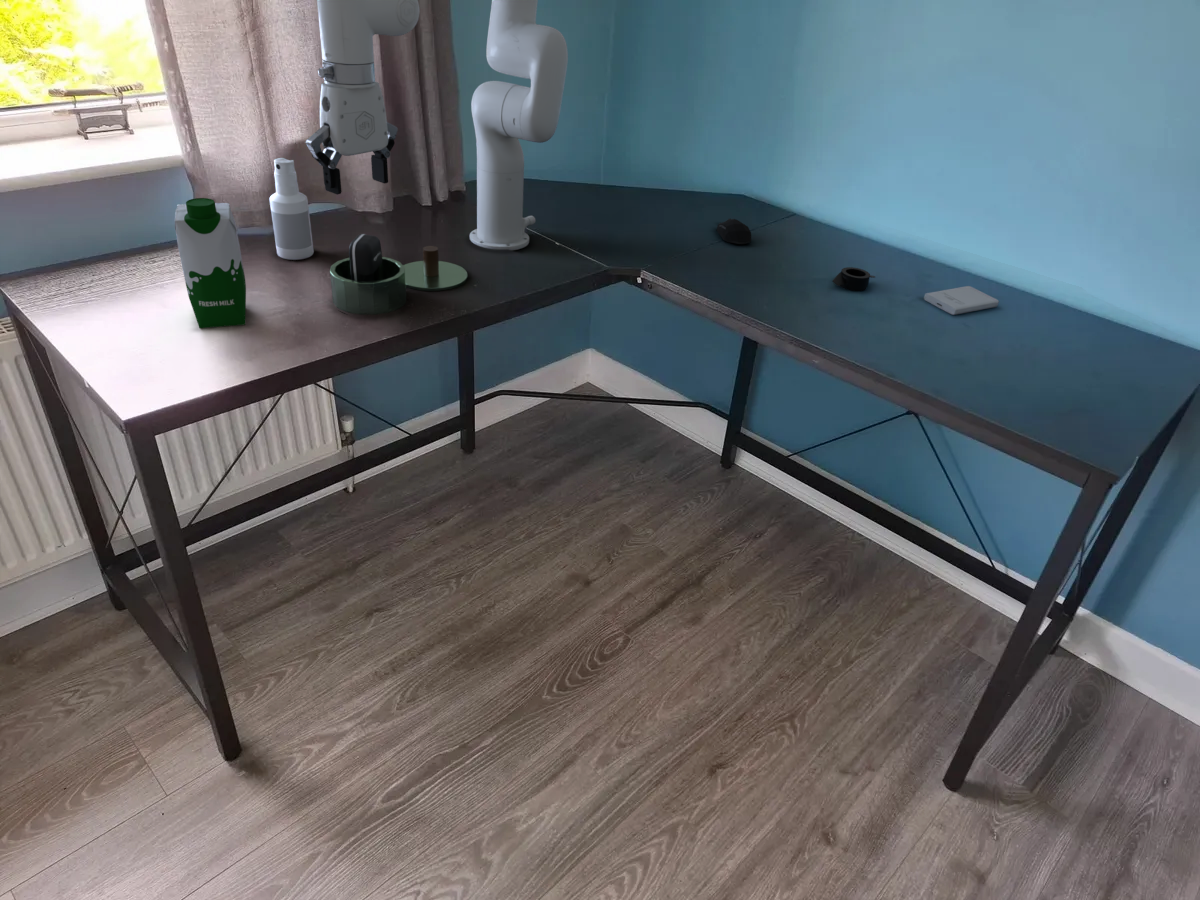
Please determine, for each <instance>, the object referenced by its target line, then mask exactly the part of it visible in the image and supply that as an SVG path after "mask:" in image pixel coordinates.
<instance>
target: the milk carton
mask: <svg viewBox="0 0 1200 900" xmlns="http://www.w3.org/2000/svg"><path fill="white" fill-rule="evenodd" d="M231 209H232V208H231V205H230V203H229V202H216V201H215V200H214V199H212V198H208V197H198V198H197V197H196V198H195V197H194V198H191V199H188V200H186V202H185V203H184V204H183V203H181V204H180V203H179V204H177V205H176V209H175V211H174V212H175V213H174V231H175V234H176V244H177V248H178V255H179V259H180V263H181V268H182V272H183V278H184V283H185V287H186V291H187V296H188V299H189V302H190V306H191V308H192V311H193V314H194V317H195V320H196V323H197V326H198V328H199V329H207V328H209V329H210V328H220V327H221V328H222V327H231V326H232V327H234V326H246V315H247V314H246V309H247V308H246V307H247V283H246V277H245V276H246V275H245V270H244V264H243V263H244V262H243V258H242V257H243V256H242V252H241V246H240V239H239V234H238V227H237V223H236V220H235V216H234V215H233V212H232V210H231Z"/></svg>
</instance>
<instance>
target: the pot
mask: <svg viewBox="0 0 1200 900" xmlns="http://www.w3.org/2000/svg"><path fill="white" fill-rule="evenodd" d="M403 265H404V264H402V263H401V261H399V260H396V259H393V258H391V257H387V256H386V257H385V256H382V264H381V265H380V266H379V267H378V268H377V270H376V271H375V272H374V281H372V282H365V281H354V280H352V279H351V270H350V258H349V257H347V258H343V259H340V260H337V261H336V262H334V263H333V264H332V265H331V266H330V270H329V278H330V286H331V297H332V303H333V304H334V306H335V307H336V309H339V310H338V312H340V313H342V314H344V315H346V316H348V315H349V314H354V315H359V316H360V315H361V316H378V315H382V314H383V315H384V314H389V313H393V312H394V311H397V310H400V309H402V307H403V306H404V305H405V304H407V287H406V282H405V267H404V266H403ZM347 313H348V314H347Z"/></svg>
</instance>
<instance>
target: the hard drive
mask: <svg viewBox="0 0 1200 900" xmlns="http://www.w3.org/2000/svg"><path fill="white" fill-rule="evenodd" d="M923 300H924V301H925V302H927V303H929V304H931V305H932V306H934V307H937V308H938V309H941V310H942V311H944V312H946V313H948V314H950V315H952V316H955V315H961V314H967V313H972V312H976V311H982V310H988V309H993V308H997V307H998V305H999V303H1000V301H999V300H998V299H997V298H995V297H993V296H991V295H989V294H986V293H985V292H983V291H980V290H979V289H976V288H975V287H973V286H971V285H966V286H960V287H954V288H949V289H948V288H947V289H943V290H936V291H932V292H927V293H926V292H925V293H924V296H923Z"/></svg>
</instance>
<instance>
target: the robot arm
mask: <svg viewBox="0 0 1200 900" xmlns="http://www.w3.org/2000/svg"><path fill="white" fill-rule="evenodd" d="M538 2H539V0H491V6H490V13H489V20H488V28H487V29H488V30H487V37H486V38H487V40H486V50H485V51H486V53H485V54H486V55H485V56H486V62H487V64H488V66H489V67H490V68H491V69H492V70H494V71H495V72H498V73H500V74H504V75H507V76H512V77H516V78H522V79H527V80H530V87H529V86H525V85H522V84H517V83H511V82H508V81H507V82H506V81H501V80H488V81H484V82H483V83H481V84H479V85H478V86H477V87H476V88H475V89H474V92H473V94H472V96H471V105H470V107H471V108H470V110H471V117H472V123H473V128H474V133H475V142H476V143H475V144H476V228H475V229H474V230H472V231H471V232H469V240H470V242H471V243H473V244H474V245H476V246H478V247H481V248H485V249H490V250H500V251H502V250H506V251H507V250H508V251H518V250H520V249H521V250H522V249H524V248H526V247H527V246H528V245H529V243H530V236H529V235H528V233H526V232H525V230H526V228H527V227H530V226H532V225H535V224H536V217H535V216H533V215H528V216H526V217H523V215H524V214H523V213H524V179H525V155H524V151H523V147H522V145H521V142H520V140H522V141H527V142H533V143H539V144H543V143H546V142H548V141H550V140H551V139H552V138H553V136H554V135H555V134H556V133H555V132H556V131H557V128H558V124H559V120H560V115H561V110H562V102H563V97H564V90H565V85H566V84H565V83H566V77H567V69H568V64H569V63H568V62H569V61H568V60H569V51H568V50H569V49H568V45H567V41H566V39H565V37H564V35H563V33H562V32H561V31H560V30H558V29H557V28H556V27H552V26H549V25H543V24H537V12H538V11H537V10H538ZM316 4H317V5H316V6H317V15H318V26H319V37H320V48H321V49H320V50H321V62H322V67H319V68H318V70H317V73H318V76H319V77H320V78H322V79H323V82H322V83H321V87H320V97H319V128H318V129H317V130H316V131H315V132H314V133H312V134H311V136H309V137H308V138H307V139H305V145H306V146H307V148H308V150H309V152H310V153H311V156H312V158H313V159H314V160H315V161H316V162H317V163H318V165H319V166H321V167H322V174H323V184H324V190H325V191H326V192H329V193H331V194H334V195H338V196H339V195H341V194H342V182H341V181H342V179H341V170H340V168H339V167H337V166H338V164H339V162H340V160H341V158H342V156H344V157H351V156H355V155H357V156H358V155H362V154H367V153H371V152H372V153H373V154H371V155H370V156H371V157H370V161H371V163H370V164H371V178H372V180H373V181H375V182H379V183H382V184H385V185H386V184H388V183H389V170H388V167H389V166H388V159H390V157H391V151H392V149H393V147H394V146H395V140H396V138H397V135H398V131H399V129H398V127H397V126H396V125H395V124H392V123H390V122H388V119H387V112H386V111H387V110H386V105H385V100H384V96H383V92H382V91H383V90H382V88H381V85H380V82H378V81H376V75H375V74H376V73H375V55H374V54H375V53H374V40H373V39H374V38H373V37H374V36H375V35H381V36H391V37H399V36H400V37H401V36H404V35H406V34H408V33H410V32H411V31H412V30H413V29H415V27H416V26H417V24H418V21H419V19H420V11H421V9H420V4H419V0H316ZM321 144H322V147H323V150H322V147H321Z"/></svg>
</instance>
